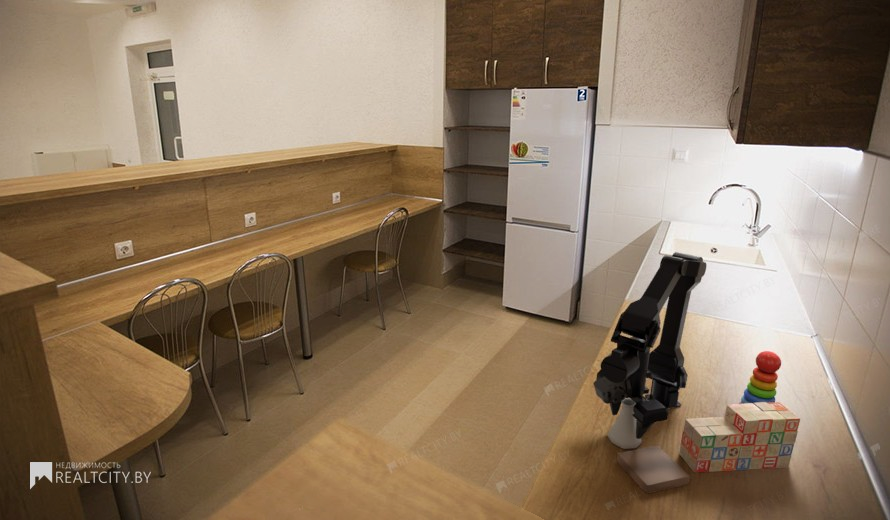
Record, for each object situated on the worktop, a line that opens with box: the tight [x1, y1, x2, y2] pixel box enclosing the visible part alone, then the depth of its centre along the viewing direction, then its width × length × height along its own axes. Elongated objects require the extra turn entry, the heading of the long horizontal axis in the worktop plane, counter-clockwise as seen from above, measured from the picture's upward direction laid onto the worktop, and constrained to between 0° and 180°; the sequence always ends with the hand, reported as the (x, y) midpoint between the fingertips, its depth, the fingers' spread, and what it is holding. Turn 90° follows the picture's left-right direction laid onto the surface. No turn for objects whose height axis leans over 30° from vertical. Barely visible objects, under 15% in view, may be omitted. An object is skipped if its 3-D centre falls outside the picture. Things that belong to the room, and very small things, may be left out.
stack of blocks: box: [679, 401, 801, 473], centre depth 108 cm, size 21×6×12 cm, turn 96°
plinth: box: [616, 445, 691, 494], centre depth 106 cm, size 10×10×2 cm
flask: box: [607, 398, 643, 450], centre depth 115 cm, size 7×7×10 cm
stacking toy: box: [738, 350, 782, 404], centre depth 121 cm, size 8×8×19 cm
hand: (626, 426), depth 115 cm, fingers open, 9 cm apart
